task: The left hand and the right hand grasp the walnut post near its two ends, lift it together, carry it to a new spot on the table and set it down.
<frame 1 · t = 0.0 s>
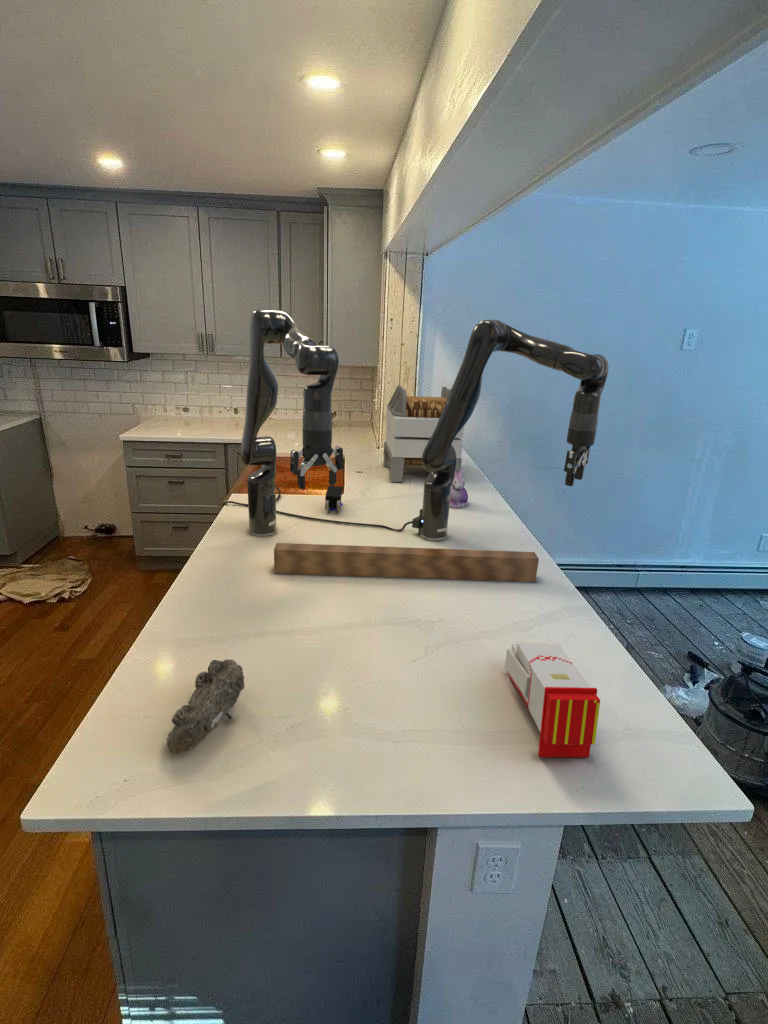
left hand: (317, 487, 151), 29 cm above the counter, tool pointing down, fingers open, 8 cm apart
right hand: (573, 482, 165), 29 cm above the counter, tool pointing down, fingers open, 8 cm apart
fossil: (212, 717, 108), on the counter
transformer: (419, 473, 275), on the counter
post: (405, 574, 170), on the counter
toy: (541, 708, 115), on the counter
figurine character: (333, 509, 221), on the counter
figurine: (457, 505, 232), on the counter
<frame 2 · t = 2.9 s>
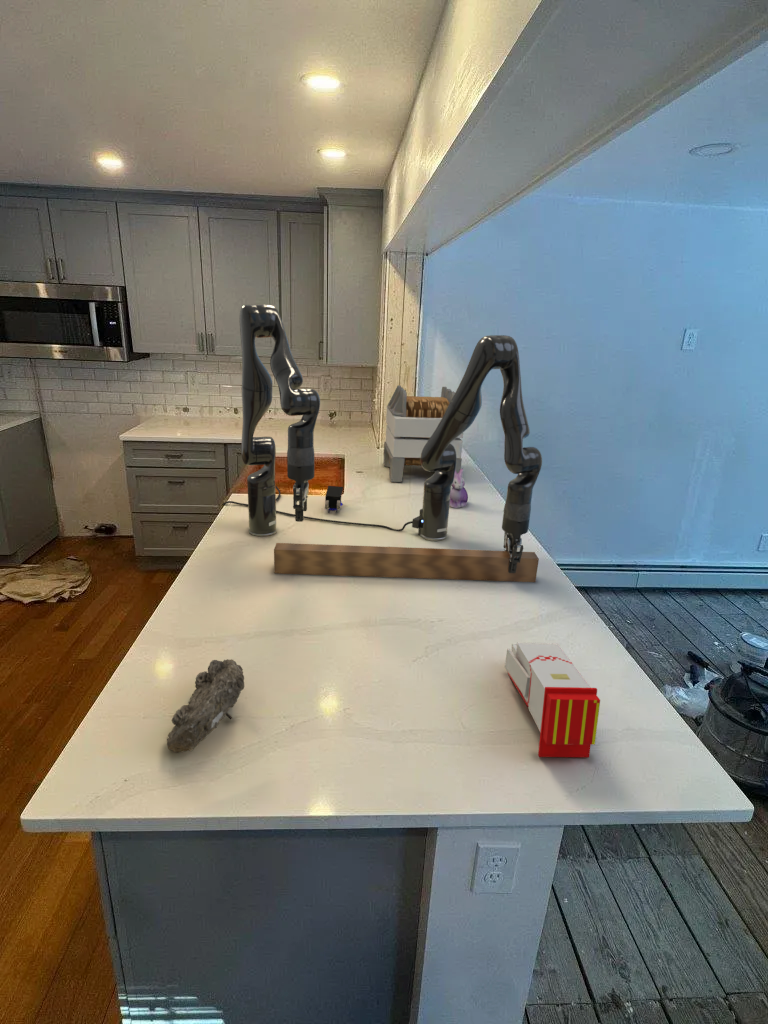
left hand: (301, 515, 163), 17 cm above the counter, tool pointing down, fingers open, 8 cm apart
right hand: (509, 568, 170), 3 cm above the counter, tool pointing down, fingers closed on post, 5 cm apart
post: (405, 574, 170), on the counter, touching right hand
everything else where it was.
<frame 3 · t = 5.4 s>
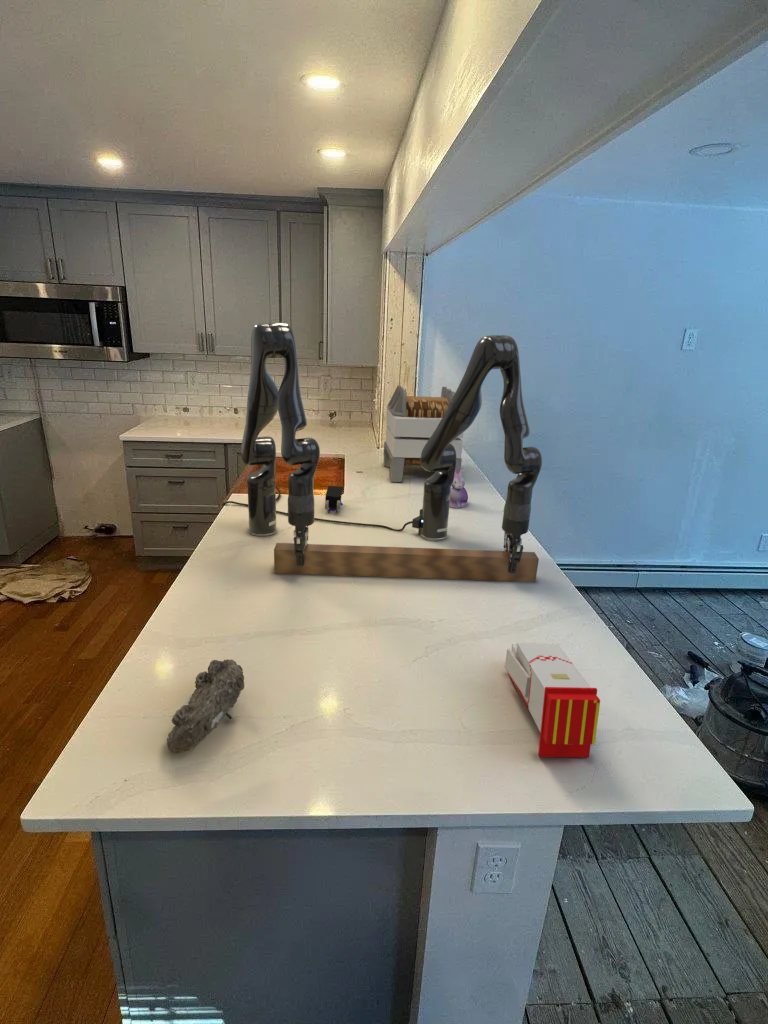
left hand: (301, 561, 168), 3 cm above the counter, tool pointing down, fingers closed on post, 5 cm apart
right hand: (509, 568, 170), 3 cm above the counter, tool pointing down, fingers closed on post, 5 cm apart
post: (405, 574, 170), on the counter, touching right hand, left hand
everything else where it was.
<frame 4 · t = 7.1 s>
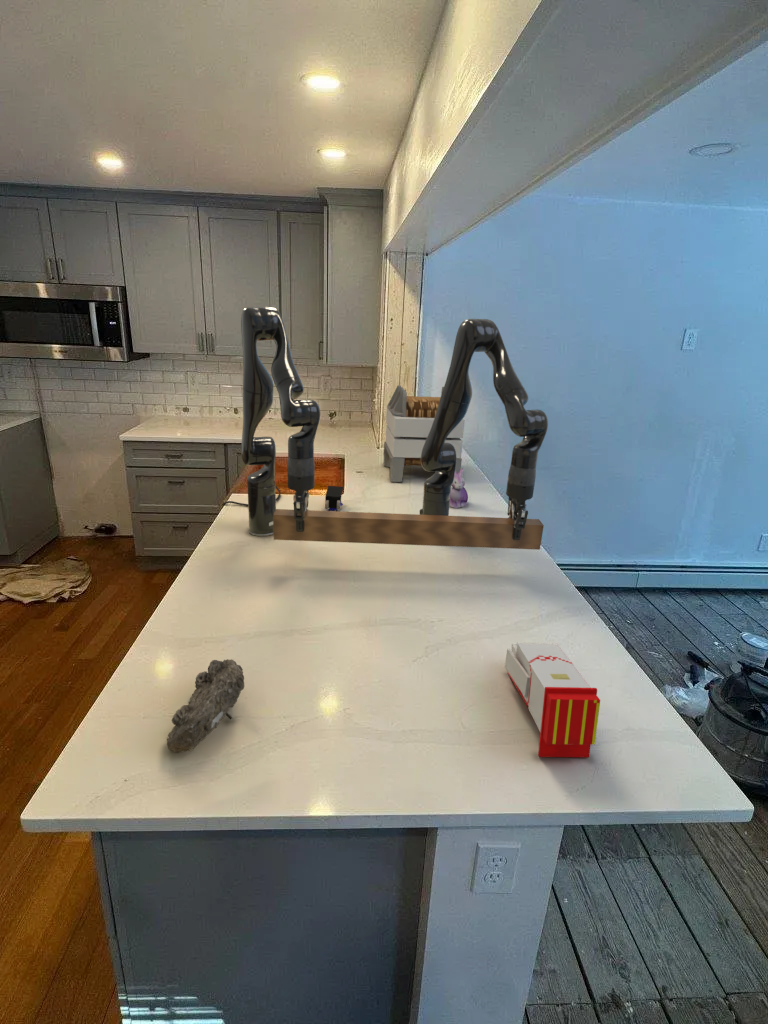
left hand: (301, 527, 165), 14 cm above the counter, tool pointing down, fingers closed on post, 5 cm apart
right hand: (513, 535, 166), 14 cm above the counter, tool pointing down, fingers closed on post, 5 cm apart
post: (407, 541, 167), point 11 cm above the counter, touching right hand, left hand
everything else where it was.
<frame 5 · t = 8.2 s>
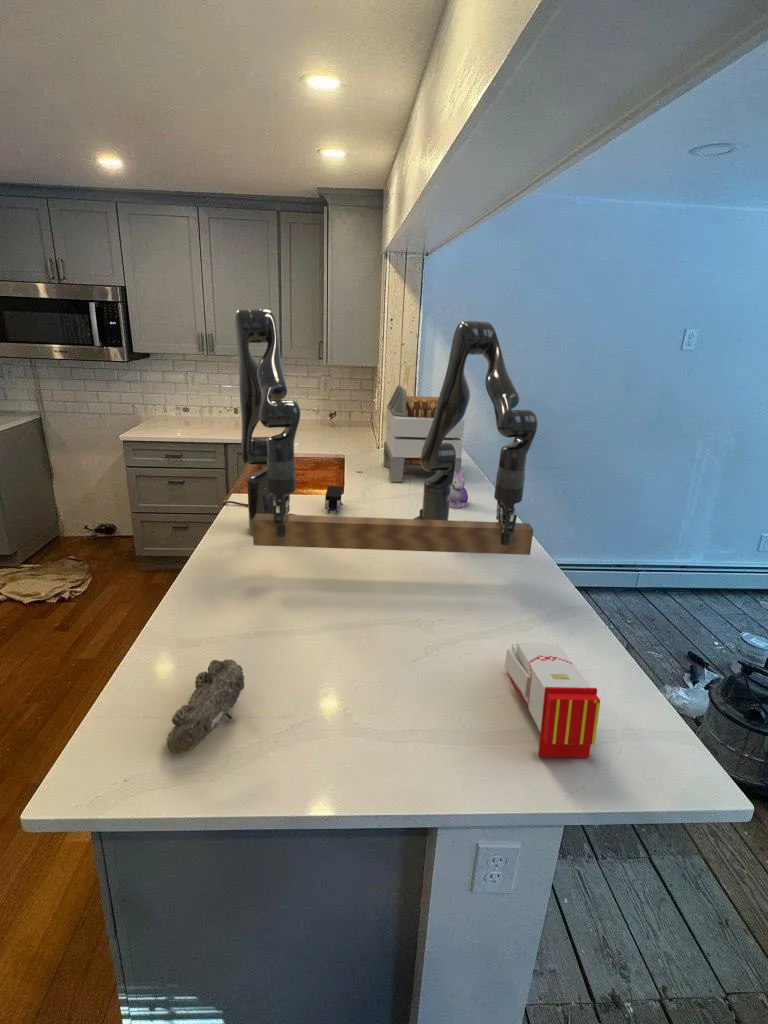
left hand: (282, 532, 159), 14 cm above the counter, tool pointing down, fingers closed on post, 5 cm apart
right hand: (502, 540, 160), 14 cm above the counter, tool pointing down, fingers closed on post, 5 cm apart
post: (392, 546, 161), point 11 cm above the counter, touching right hand, left hand
everything else where it was.
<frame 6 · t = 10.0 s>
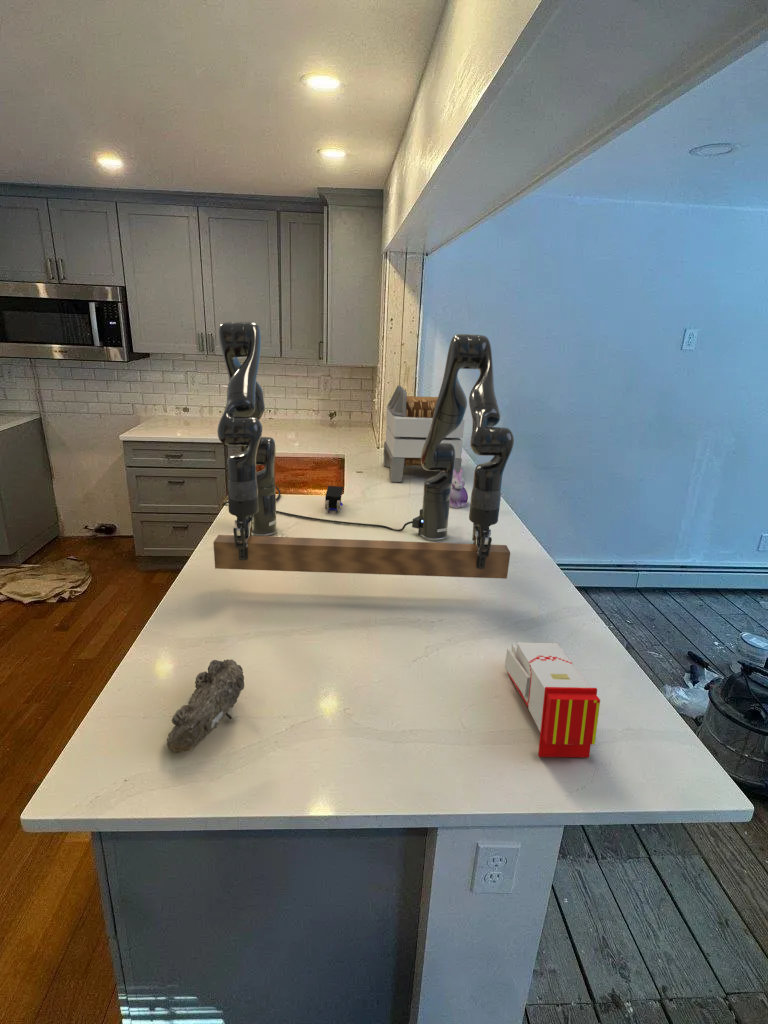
left hand: (245, 555, 151), 11 cm above the counter, tool pointing down, fingers closed on post, 5 cm apart
right hand: (478, 563, 152), 11 cm above the counter, tool pointing down, fingers closed on post, 5 cm apart
post: (362, 569, 152), point 8 cm above the counter, touching right hand, left hand
everything else where it was.
when the left hand's fingers open (4 cm above the counter, at t = 11.3 s): post stays where it is, on the counter.
when the right hand's fingers open (4 cm above the counter, at t = 11.3 s): post stays where it is, on the counter.
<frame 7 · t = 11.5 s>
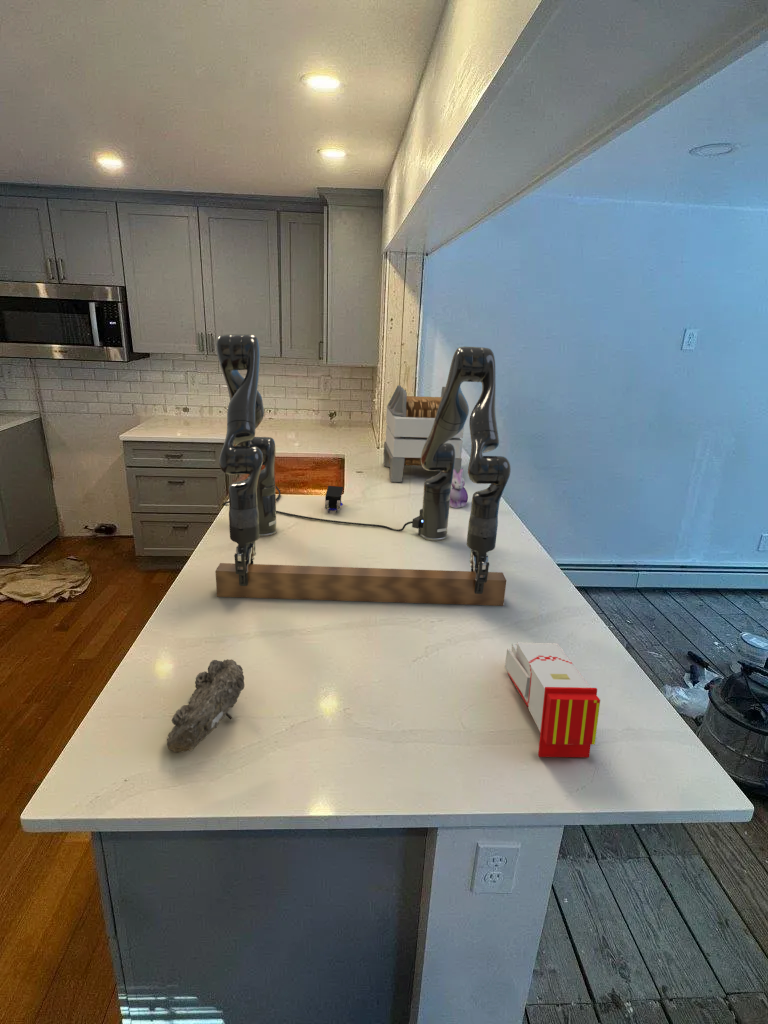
left hand: (246, 579, 153), 4 cm above the counter, tool pointing down, fingers open, 6 cm apart
right hand: (476, 586, 154), 4 cm above the counter, tool pointing down, fingers open, 6 cm apart
post: (361, 596, 155), on the counter
everything else where it was.
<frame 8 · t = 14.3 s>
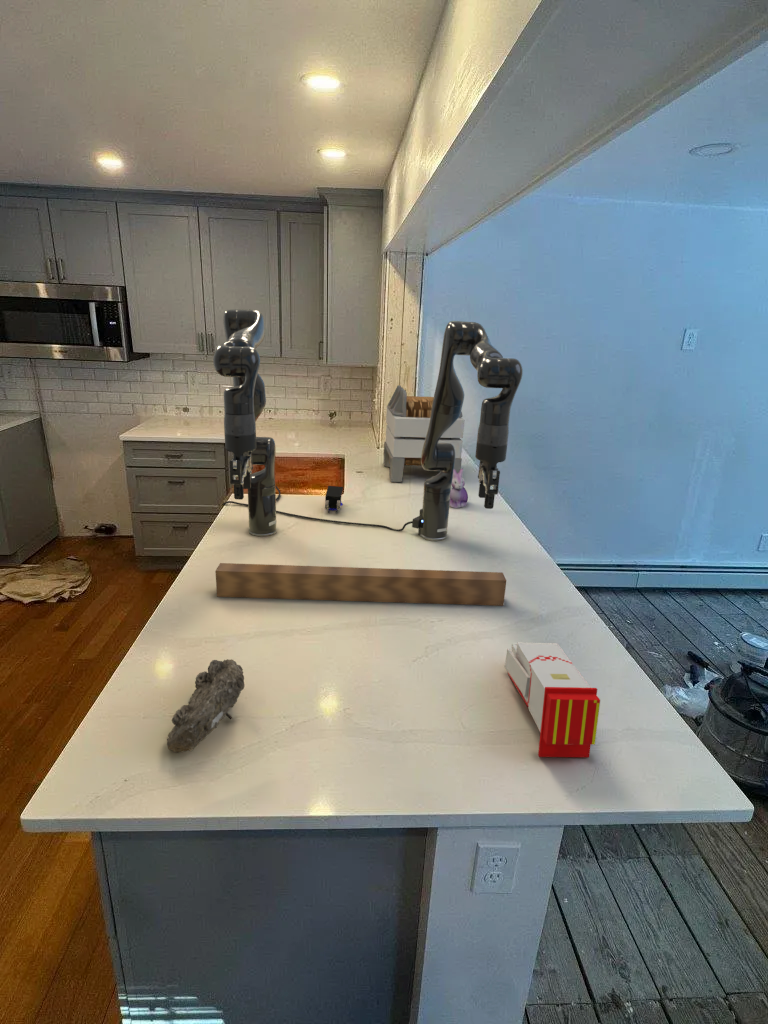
left hand: (242, 493, 144), 29 cm above the counter, tool pointing down, fingers open, 8 cm apart
right hand: (485, 502, 146), 29 cm above the counter, tool pointing down, fingers open, 8 cm apart
nothing on the counter moved.
at the end: post inside the target area (0.4 cm from its centre), on the counter; post tilted 0°; post never tilted more than 1° during the clip; both hands held the post at the same time; the left hand is holding nothing; the right hand is holding nothing; post at rest at the end (0.0 cm/s) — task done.
